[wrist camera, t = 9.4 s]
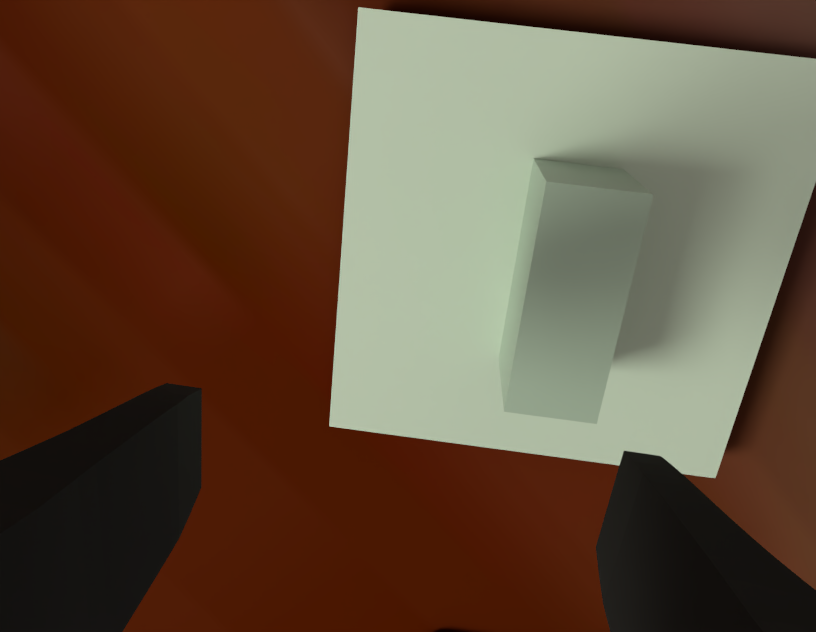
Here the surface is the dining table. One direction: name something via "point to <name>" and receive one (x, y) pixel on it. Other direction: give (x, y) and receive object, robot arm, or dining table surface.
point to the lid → (563, 236)
